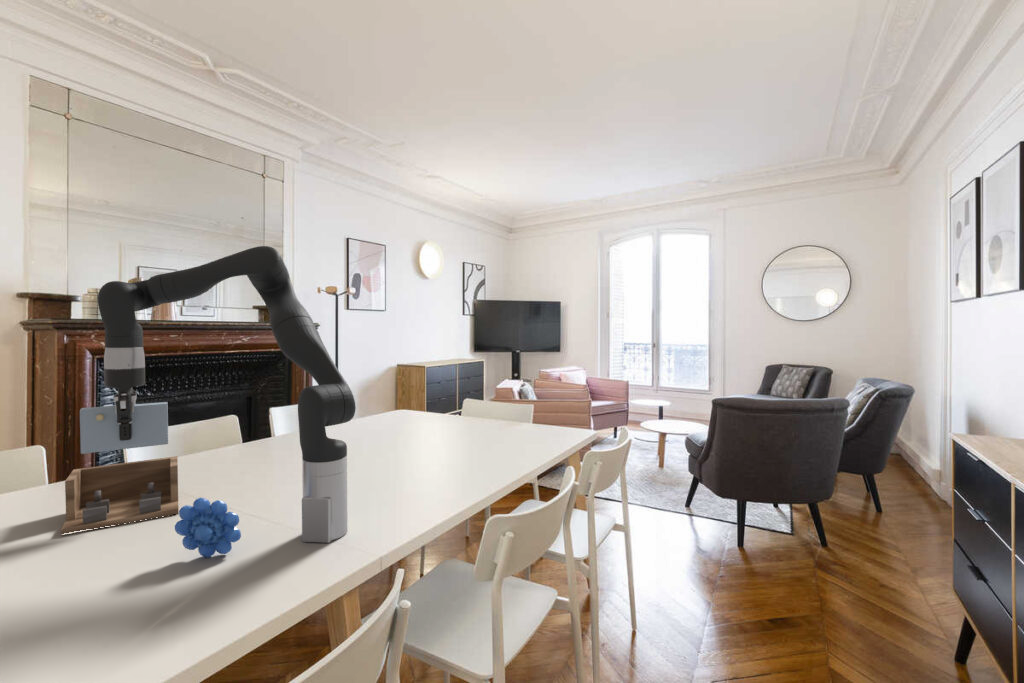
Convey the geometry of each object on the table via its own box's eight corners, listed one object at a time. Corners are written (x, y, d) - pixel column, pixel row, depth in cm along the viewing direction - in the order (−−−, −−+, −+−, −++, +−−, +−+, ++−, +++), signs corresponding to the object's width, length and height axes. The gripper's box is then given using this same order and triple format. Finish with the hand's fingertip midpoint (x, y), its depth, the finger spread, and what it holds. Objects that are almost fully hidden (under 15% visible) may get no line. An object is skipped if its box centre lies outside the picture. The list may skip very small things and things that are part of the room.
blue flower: (165, 571, 89) (164, 508, 89) (180, 554, 96) (179, 495, 95) (234, 563, 92) (233, 502, 92) (244, 547, 98) (243, 490, 98)
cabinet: (178, 514, 116) (177, 471, 115) (61, 536, 104) (59, 488, 103) (178, 494, 130) (177, 456, 129) (74, 511, 117) (73, 469, 117)
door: (167, 444, 116) (167, 404, 115) (80, 454, 107) (79, 410, 106) (168, 441, 119) (167, 402, 118) (83, 450, 110) (81, 408, 109)
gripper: (143, 367, 109) (144, 442, 109) (146, 363, 120) (147, 431, 121) (100, 369, 104) (101, 447, 105) (108, 364, 116) (109, 434, 117)
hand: (126, 438), depth 113 cm, fingers closed on door, 3 cm apart
